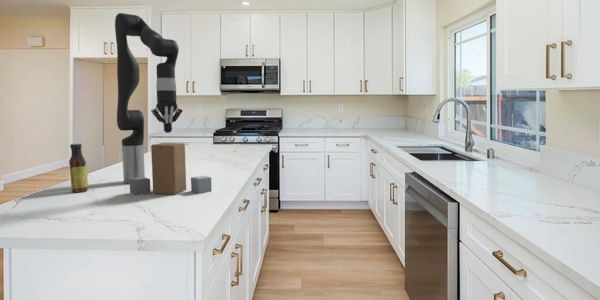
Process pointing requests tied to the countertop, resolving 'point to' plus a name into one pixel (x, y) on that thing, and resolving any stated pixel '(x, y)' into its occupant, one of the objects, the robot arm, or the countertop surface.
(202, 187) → the slate marked block
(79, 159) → the sauce bottle
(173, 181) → the wooden block
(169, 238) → the countertop surface
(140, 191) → the charcoal marked block
